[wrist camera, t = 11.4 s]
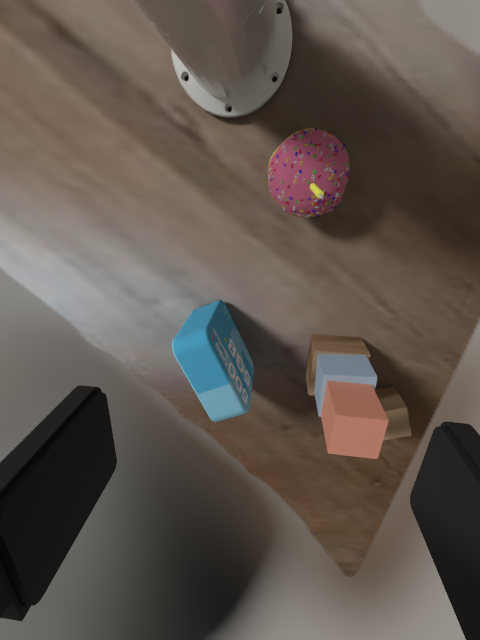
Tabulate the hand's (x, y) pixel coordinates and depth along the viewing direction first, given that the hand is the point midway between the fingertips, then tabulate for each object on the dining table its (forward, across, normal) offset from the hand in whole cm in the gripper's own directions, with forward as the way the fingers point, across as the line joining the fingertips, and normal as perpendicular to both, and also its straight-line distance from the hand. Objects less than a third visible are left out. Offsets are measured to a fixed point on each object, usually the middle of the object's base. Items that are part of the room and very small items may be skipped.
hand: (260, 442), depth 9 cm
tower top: (+29, -10, +16) cm, 35 cm away
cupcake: (+34, -3, -8) cm, 36 cm away
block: (+34, -18, +23) cm, 45 cm away
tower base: (+34, -10, +16) cm, 39 cm away
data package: (+35, +6, +14) cm, 38 cm away
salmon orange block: (+24, -10, +16) cm, 31 cm away
